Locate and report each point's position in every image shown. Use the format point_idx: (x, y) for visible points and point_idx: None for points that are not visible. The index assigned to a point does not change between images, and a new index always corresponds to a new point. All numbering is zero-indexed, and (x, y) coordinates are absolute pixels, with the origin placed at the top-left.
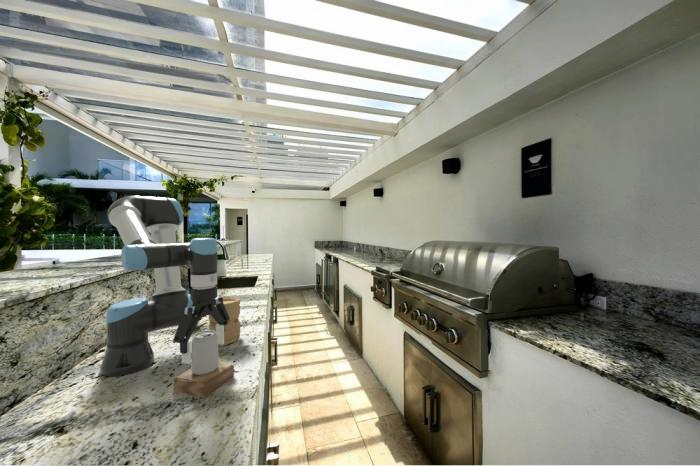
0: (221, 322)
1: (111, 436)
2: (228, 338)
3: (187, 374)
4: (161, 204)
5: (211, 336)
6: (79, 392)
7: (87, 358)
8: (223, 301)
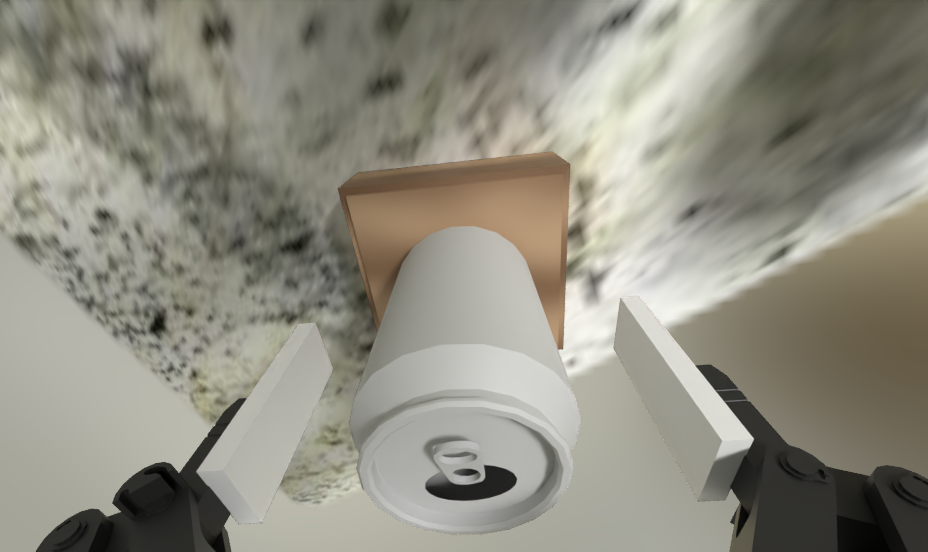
0: (736, 531)
1: (101, 226)
2: None
3: (395, 231)
4: None
5: (462, 520)
6: None
7: None
8: None
